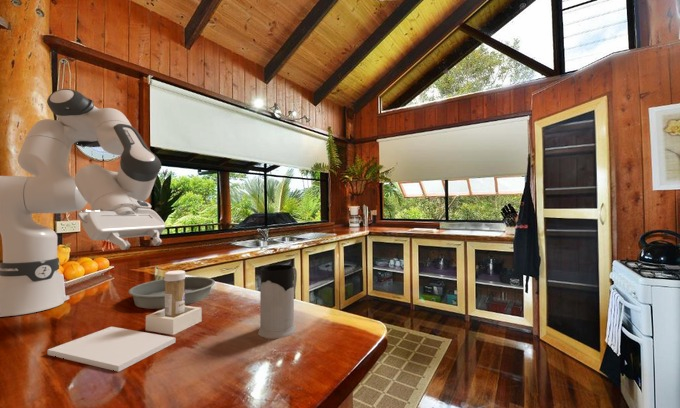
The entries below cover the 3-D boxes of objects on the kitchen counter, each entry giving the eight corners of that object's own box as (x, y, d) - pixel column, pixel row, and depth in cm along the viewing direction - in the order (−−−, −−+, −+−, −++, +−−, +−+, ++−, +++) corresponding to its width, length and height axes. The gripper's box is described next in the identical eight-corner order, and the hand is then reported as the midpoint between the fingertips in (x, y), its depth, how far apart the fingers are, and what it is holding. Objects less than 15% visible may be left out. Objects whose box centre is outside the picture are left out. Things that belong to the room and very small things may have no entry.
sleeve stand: (145, 330, 69) (145, 315, 69) (176, 317, 78) (176, 304, 78) (173, 334, 67) (173, 319, 67) (201, 321, 75) (201, 307, 75)
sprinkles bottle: (185, 326, 72) (186, 272, 72) (164, 331, 69) (164, 274, 69) (184, 320, 75) (184, 269, 76) (163, 324, 73) (164, 271, 73)
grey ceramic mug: (250, 335, 66) (250, 270, 67) (281, 314, 80) (281, 259, 80) (284, 340, 64) (284, 272, 64) (310, 317, 77) (310, 261, 77)
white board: (47, 354, 58) (47, 349, 58) (111, 330, 69) (111, 326, 69) (118, 371, 52) (118, 366, 52) (175, 342, 63) (175, 337, 63)
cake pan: (192, 311, 83) (192, 295, 83) (107, 311, 83) (107, 295, 83) (226, 288, 108) (226, 275, 108) (160, 288, 108) (161, 276, 108)
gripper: (80, 201, 71) (110, 241, 68) (154, 203, 91) (179, 234, 88) (67, 219, 72) (96, 260, 69) (142, 217, 92) (167, 249, 89)
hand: (143, 245), depth 79 cm, fingers open, 8 cm apart
